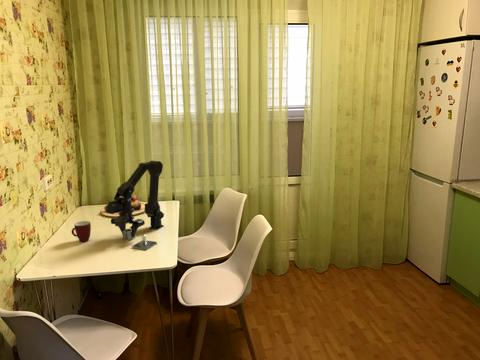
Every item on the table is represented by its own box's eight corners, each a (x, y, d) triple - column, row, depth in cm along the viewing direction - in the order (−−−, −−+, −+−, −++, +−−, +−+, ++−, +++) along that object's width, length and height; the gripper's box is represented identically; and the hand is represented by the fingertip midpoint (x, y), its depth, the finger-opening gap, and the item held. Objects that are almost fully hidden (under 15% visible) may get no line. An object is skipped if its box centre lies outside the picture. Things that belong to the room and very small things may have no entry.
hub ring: (128, 235, 220) (127, 228, 219) (136, 237, 218) (136, 229, 217) (121, 239, 215) (120, 231, 214) (129, 240, 212) (129, 232, 211)
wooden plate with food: (124, 202, 288) (123, 191, 286) (159, 206, 274) (158, 195, 272) (90, 216, 260) (88, 204, 258) (127, 221, 246) (125, 209, 244)
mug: (69, 244, 210) (67, 226, 208) (75, 238, 218) (73, 221, 216) (89, 243, 210) (87, 225, 208) (94, 237, 218) (92, 220, 216)
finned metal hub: (143, 241, 211) (142, 231, 209) (157, 243, 207) (156, 233, 206) (132, 247, 203) (131, 236, 201) (146, 250, 199) (145, 239, 198)
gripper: (102, 211, 209) (105, 239, 213) (130, 215, 202) (133, 243, 205) (116, 206, 219) (119, 232, 222) (144, 209, 212) (146, 236, 215)
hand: (128, 236), depth 216 cm, fingers closed on hub ring, 6 cm apart
